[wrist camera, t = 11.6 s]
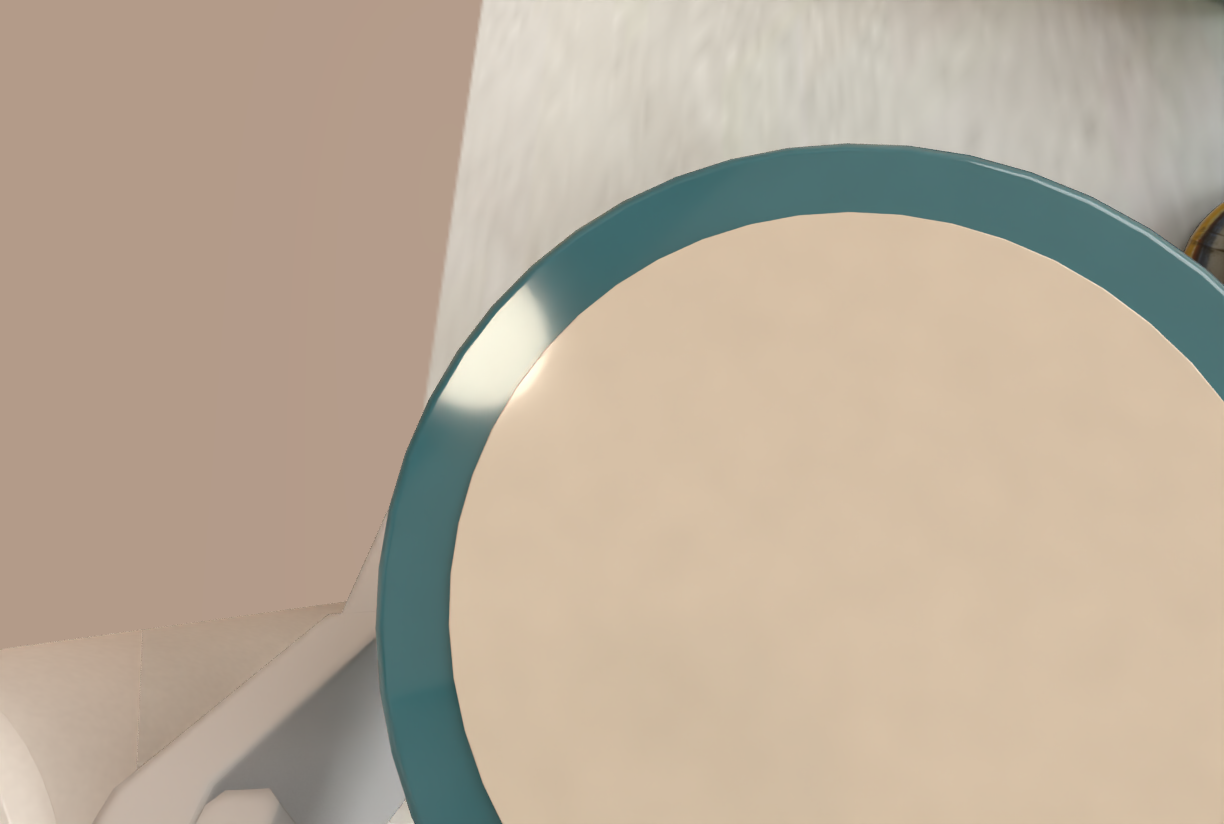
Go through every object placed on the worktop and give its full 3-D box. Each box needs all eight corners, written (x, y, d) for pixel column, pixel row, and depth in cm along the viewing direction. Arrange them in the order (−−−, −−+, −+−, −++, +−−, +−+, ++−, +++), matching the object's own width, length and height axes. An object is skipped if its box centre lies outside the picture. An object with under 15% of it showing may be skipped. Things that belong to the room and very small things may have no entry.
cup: (615, 740, 13) (368, 1184, 4) (594, 425, 14) (362, 196, 5) (950, 727, 12) (1605, 1233, 3) (902, 396, 13) (1286, 67, 4)
